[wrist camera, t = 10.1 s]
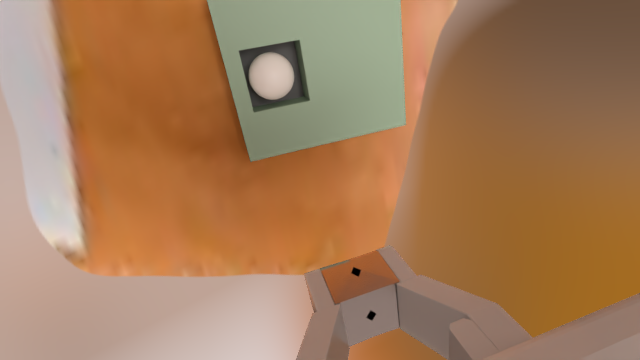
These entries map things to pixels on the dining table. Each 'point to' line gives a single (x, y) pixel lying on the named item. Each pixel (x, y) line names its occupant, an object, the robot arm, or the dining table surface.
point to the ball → (271, 75)
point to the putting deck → (314, 69)
